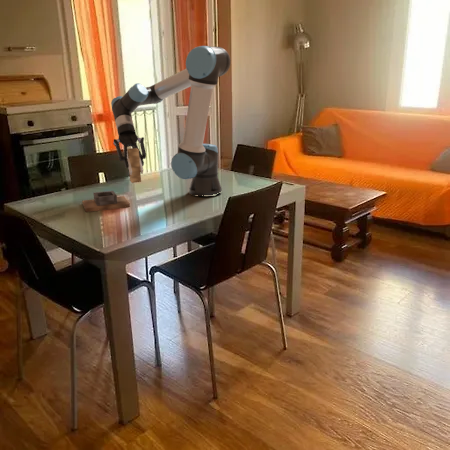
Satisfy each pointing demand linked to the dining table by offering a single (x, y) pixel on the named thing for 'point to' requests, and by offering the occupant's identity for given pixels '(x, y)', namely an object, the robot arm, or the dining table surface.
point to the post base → (105, 201)
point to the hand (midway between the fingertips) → (136, 172)
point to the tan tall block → (134, 164)
